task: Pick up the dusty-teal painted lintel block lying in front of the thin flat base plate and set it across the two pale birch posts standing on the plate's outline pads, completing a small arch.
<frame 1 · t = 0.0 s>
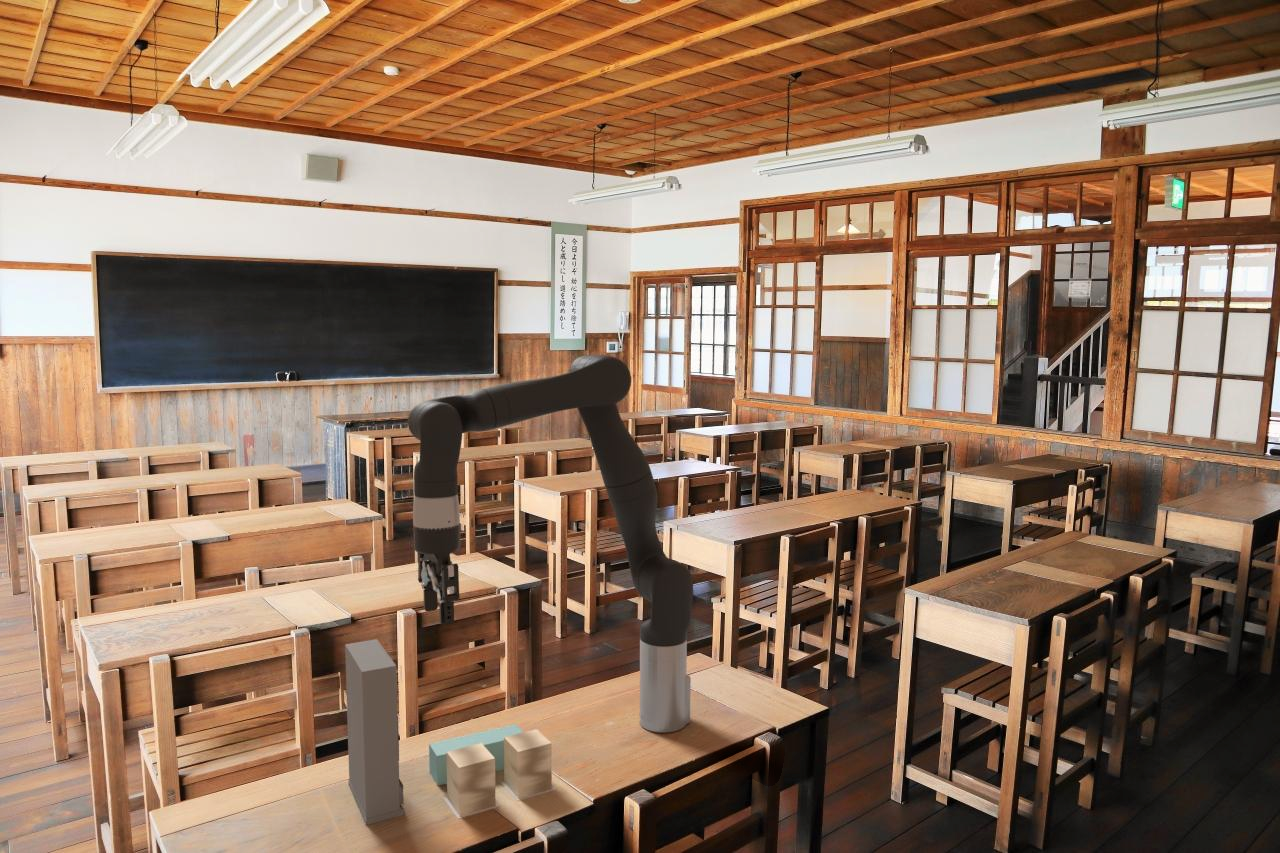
hand: (438, 617, 140), 29 cm above the table, fingers open, 8 cm apart
pillar a: (527, 785, 142), resting on thin flat base plate
lintel: (478, 771, 148), on the table
tall grey upright post: (376, 803, 137), on the table
pillar b: (471, 802, 137), resting on thin flat base plate
thin flat base plate: (500, 796, 139), on the table
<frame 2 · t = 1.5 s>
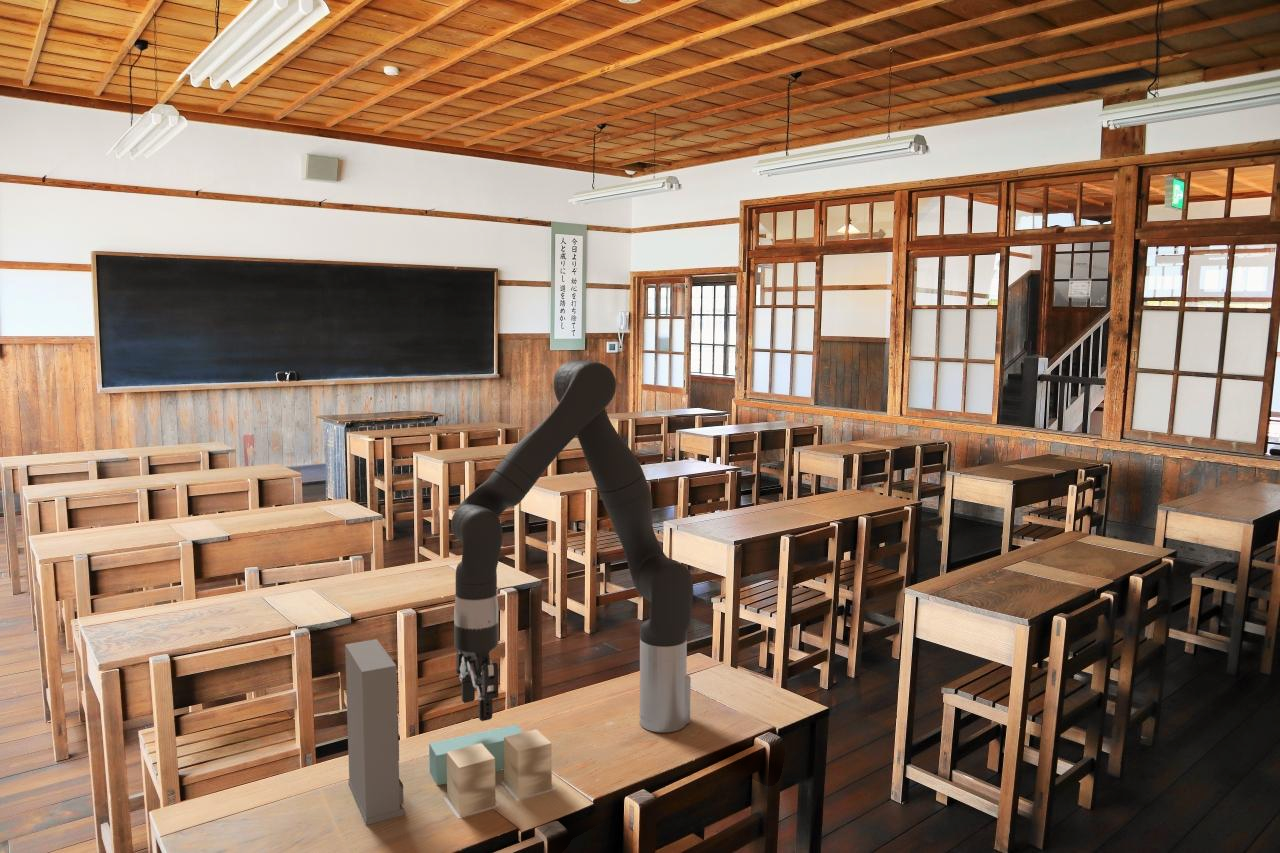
hand: (476, 710, 146), 11 cm above the table, fingers open, 8 cm apart
nothing on the table moved.
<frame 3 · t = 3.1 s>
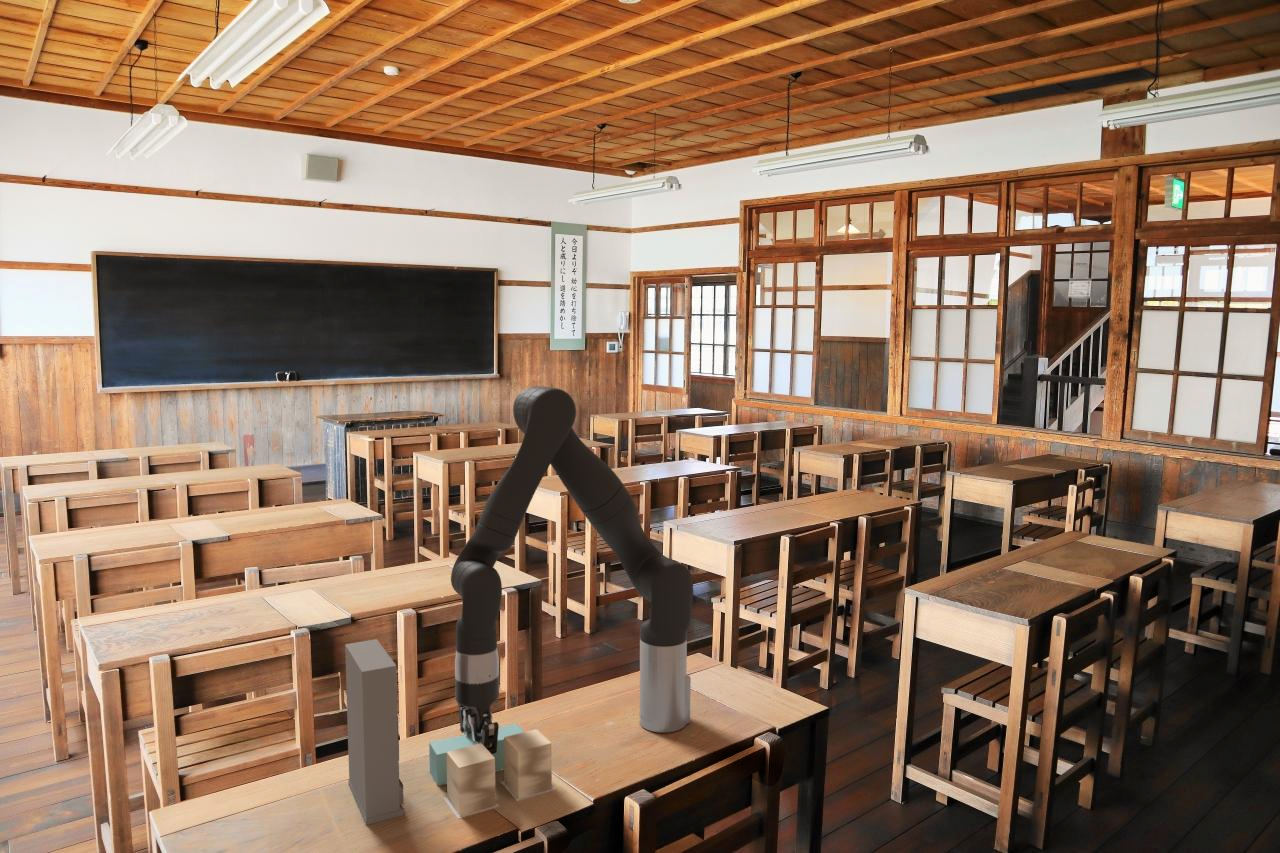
hand: (478, 766, 147), 1 cm above the table, fingers closed on lintel, 5 cm apart
lintel: (478, 770, 148), on the table, touching gripper
everything else where it was.
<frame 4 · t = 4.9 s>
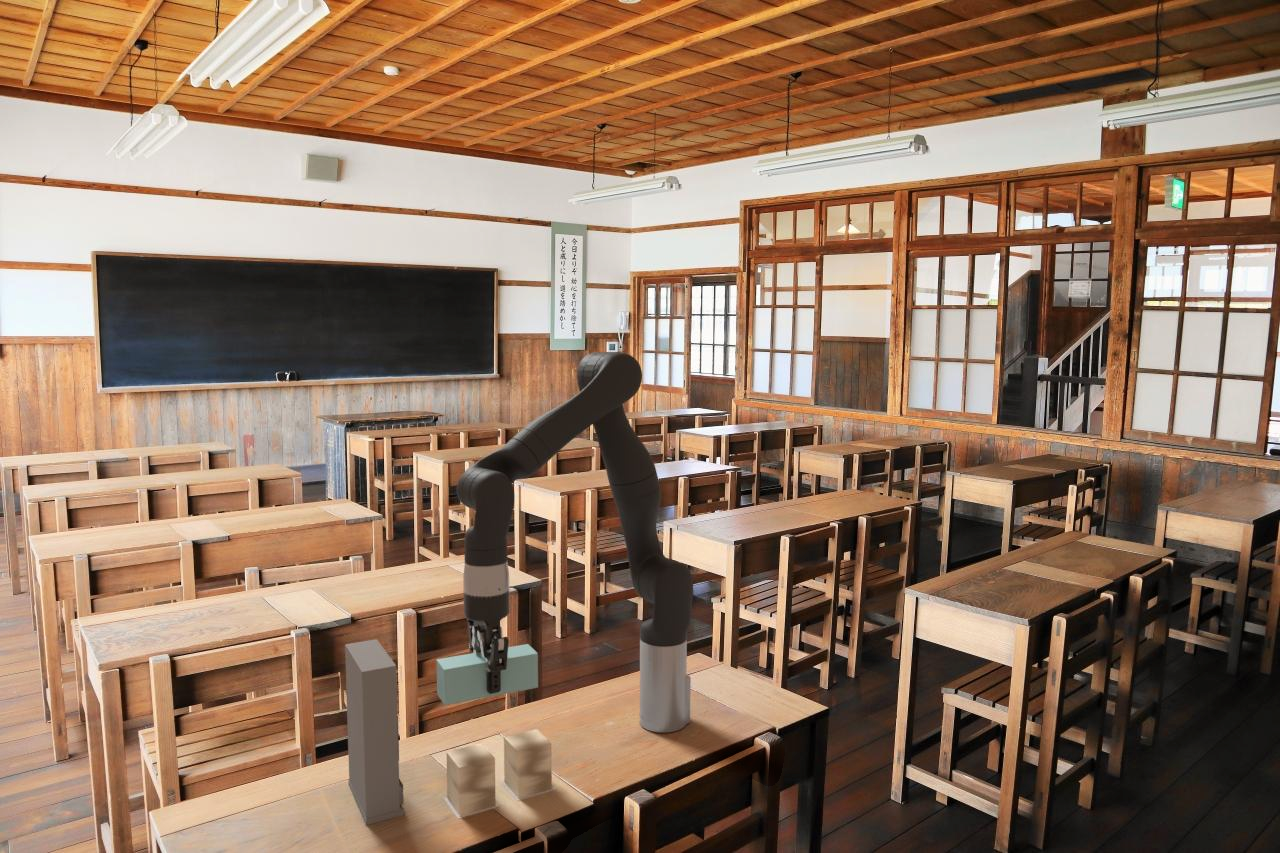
hand: (487, 685, 141), 17 cm above the table, fingers closed on lintel, 5 cm apart
lintel: (488, 690, 141), point 17 cm above the table, touching gripper
everything else where it was.
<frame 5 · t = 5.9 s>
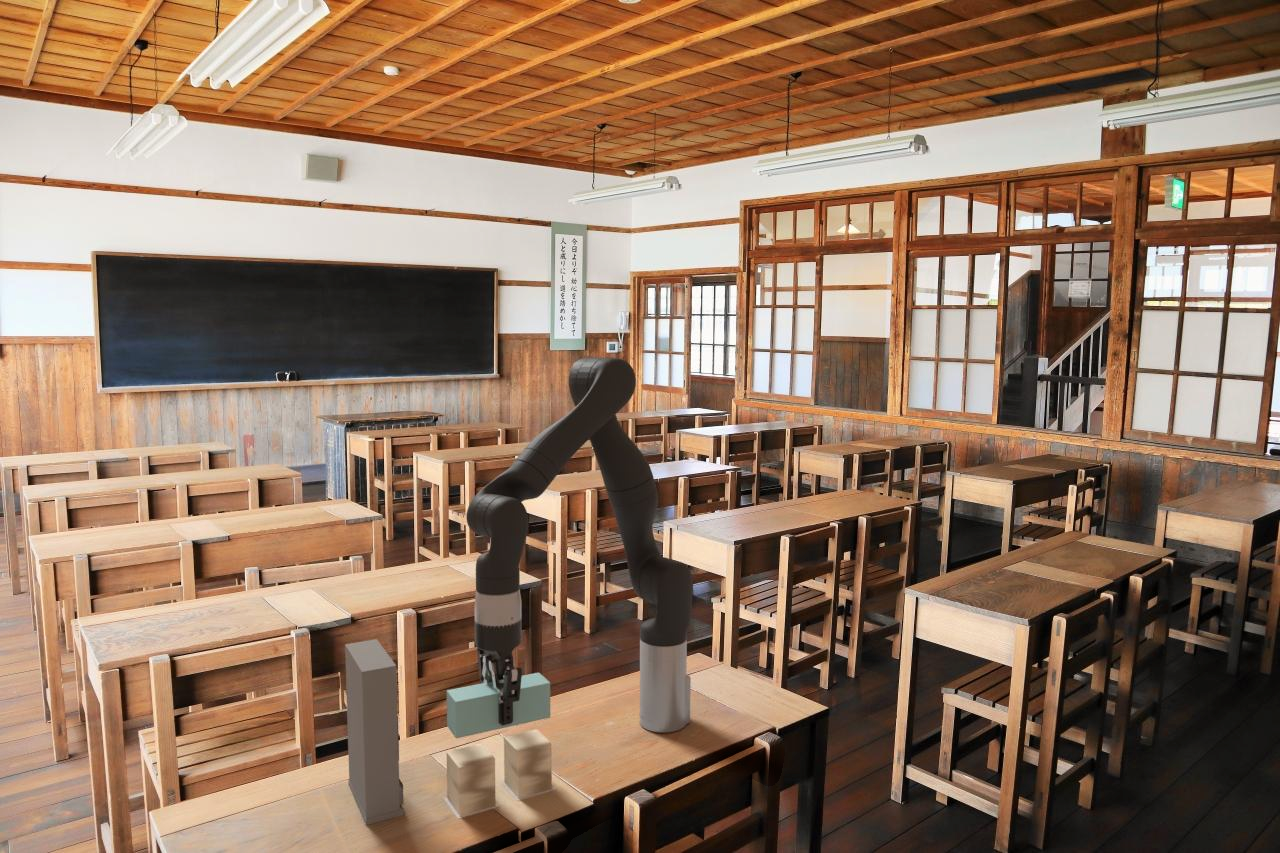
hand: (499, 716, 138), 14 cm above the table, fingers closed on lintel, 5 cm apart
lintel: (499, 721, 138), point 13 cm above the table, touching gripper
everything else where it was.
when the fingers open (11 cm above the table, at t = 6.9 s): lintel drops 1 cm, resting on pillar a, pillar b.
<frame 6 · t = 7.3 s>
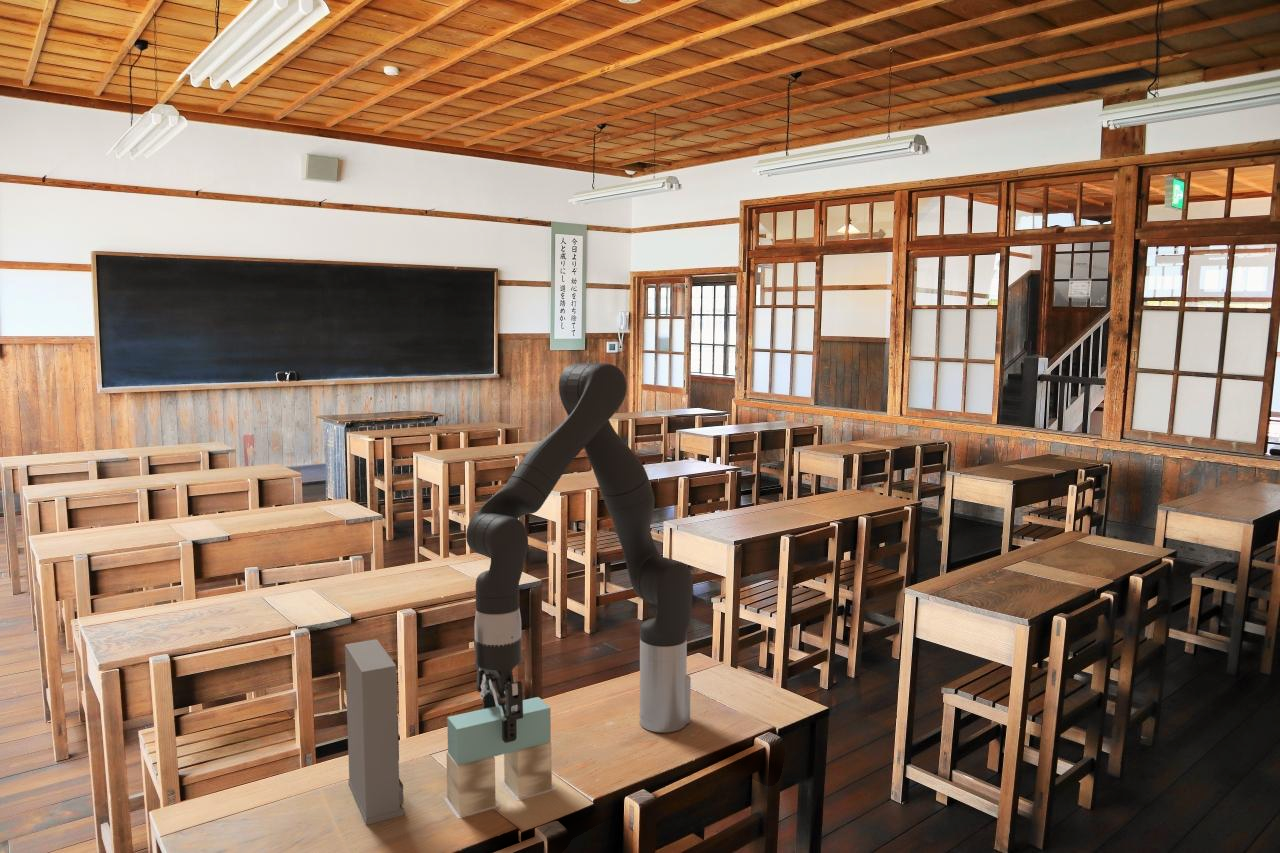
hand: (499, 730, 138), 11 cm above the table, fingers open, 8 cm apart
pillar a: (527, 785, 142), resting on thin flat base plate, touching lintel
lintel: (500, 747, 138), point 8 cm above the table, touching pillar a, pillar b
pillar b: (471, 802, 137), resting on thin flat base plate, touching lintel
everything else where it was.
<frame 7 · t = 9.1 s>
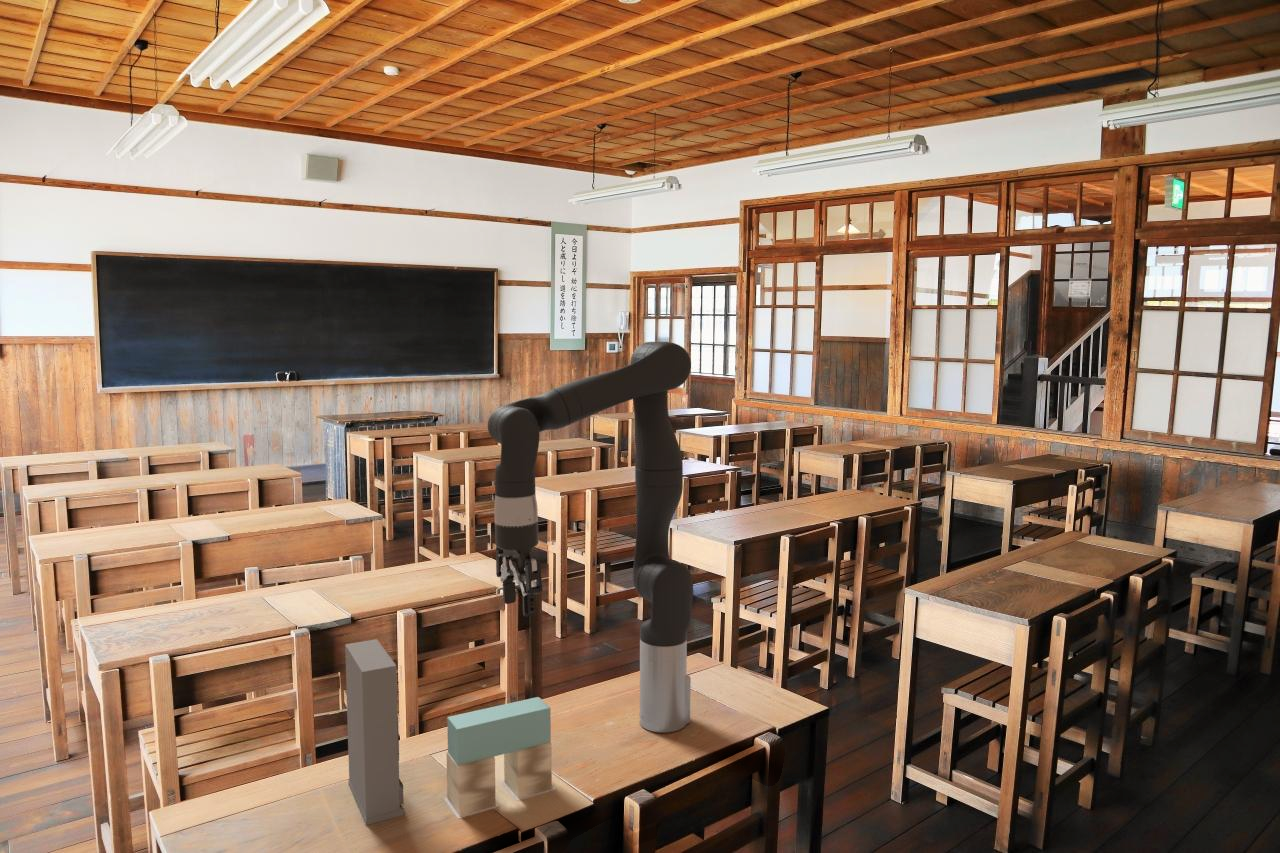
hand: (519, 608, 149), 28 cm above the table, fingers open, 8 cm apart
nothing on the table moved.
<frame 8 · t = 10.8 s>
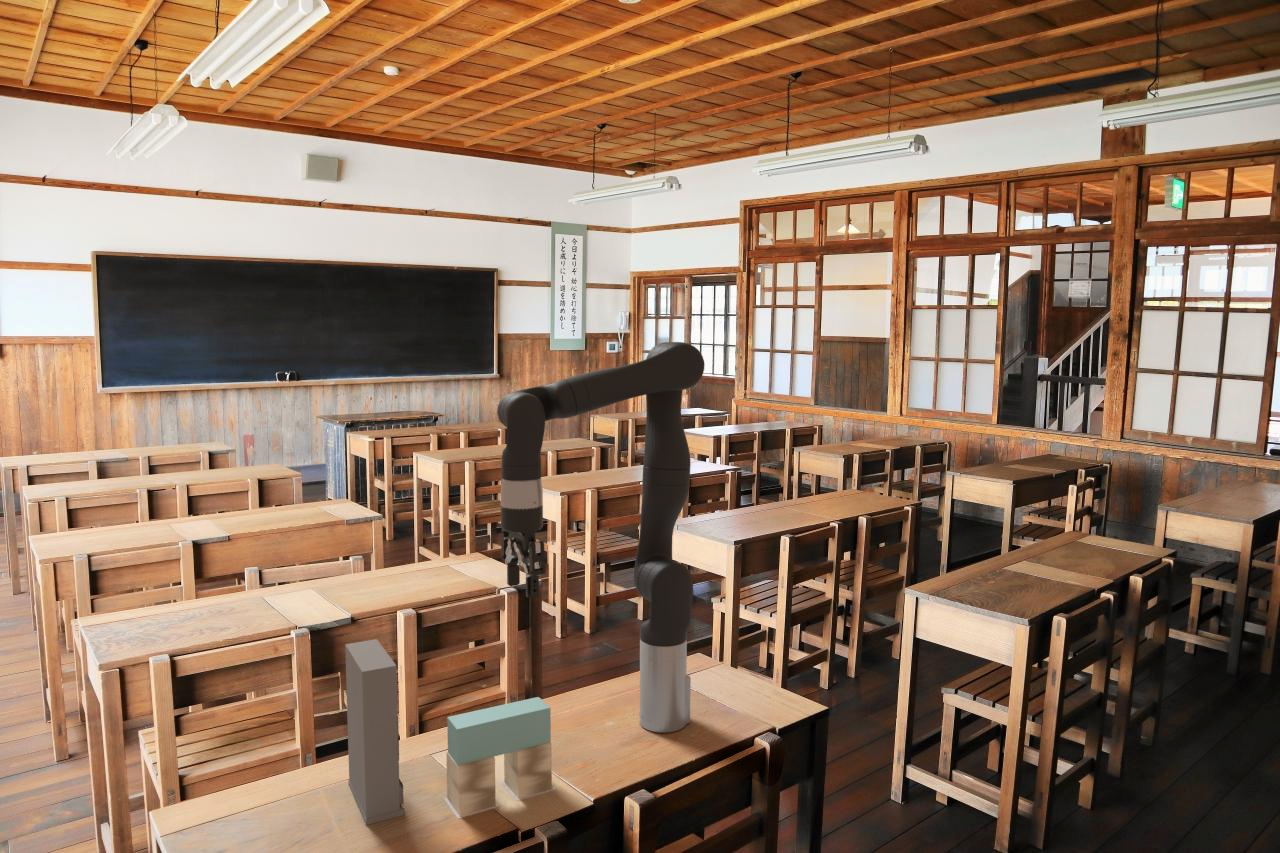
hand: (522, 590, 152), 30 cm above the table, fingers open, 8 cm apart
nothing on the table moved.
at the end: lintel 0.1 cm from the target spot, point 8.5 cm above the table; lintel tilted 0°; pillar a moved 0.0 cm from its start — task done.
